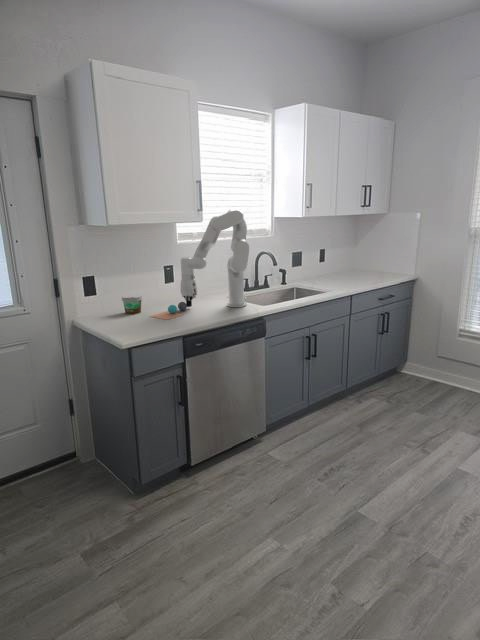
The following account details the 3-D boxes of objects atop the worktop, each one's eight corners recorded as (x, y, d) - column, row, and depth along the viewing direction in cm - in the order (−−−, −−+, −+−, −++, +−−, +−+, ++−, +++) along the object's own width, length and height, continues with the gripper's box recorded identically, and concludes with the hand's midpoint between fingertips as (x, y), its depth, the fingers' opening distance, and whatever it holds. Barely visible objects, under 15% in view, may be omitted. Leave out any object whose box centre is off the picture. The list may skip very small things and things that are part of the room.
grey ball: (176, 301, 265) (175, 309, 265) (182, 301, 261) (181, 310, 261) (183, 302, 269) (182, 310, 269) (189, 302, 266) (188, 311, 266)
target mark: (166, 311, 264) (166, 311, 264) (183, 314, 256) (183, 314, 256) (149, 316, 253) (149, 316, 252) (167, 319, 245) (167, 319, 245)
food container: (120, 315, 258) (119, 298, 255) (123, 312, 264) (121, 296, 261) (141, 314, 258) (140, 298, 256) (143, 312, 264) (142, 296, 261)
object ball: (172, 304, 261) (166, 304, 256) (179, 305, 258) (172, 305, 253) (172, 313, 262) (165, 313, 257) (178, 314, 259) (172, 314, 254)
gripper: (201, 277, 264) (202, 306, 268) (182, 275, 272) (184, 304, 277) (193, 279, 258) (194, 309, 263) (174, 277, 266) (176, 306, 271)
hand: (189, 306), depth 270 cm, fingers closed
